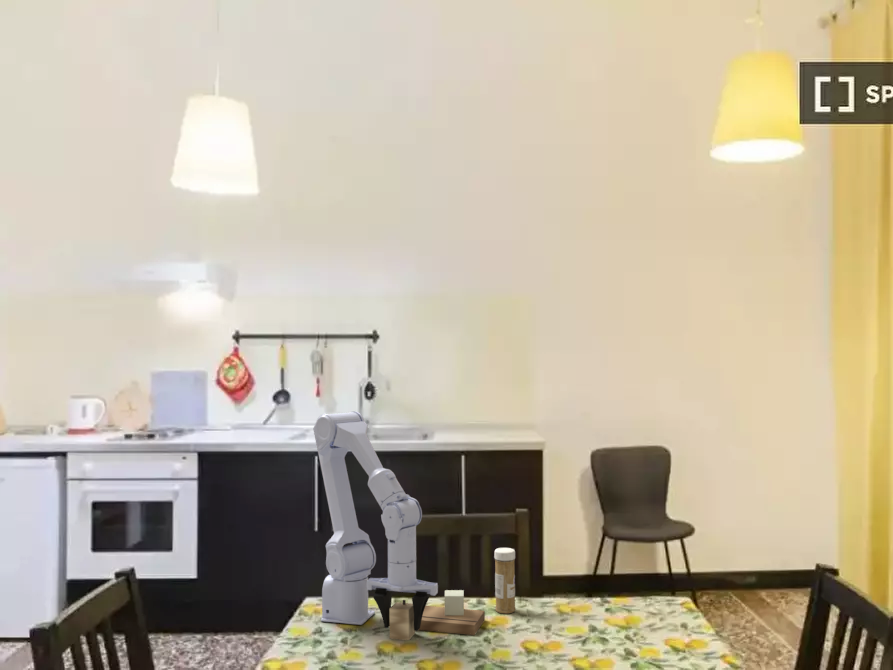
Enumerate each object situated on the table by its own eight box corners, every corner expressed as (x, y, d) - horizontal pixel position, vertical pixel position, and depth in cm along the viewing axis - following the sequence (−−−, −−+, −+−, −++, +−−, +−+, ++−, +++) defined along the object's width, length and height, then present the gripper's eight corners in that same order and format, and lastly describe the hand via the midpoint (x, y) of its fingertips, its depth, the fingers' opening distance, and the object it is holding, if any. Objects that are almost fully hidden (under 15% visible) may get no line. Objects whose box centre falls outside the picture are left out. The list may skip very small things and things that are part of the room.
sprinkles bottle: (517, 613, 173) (517, 551, 173) (497, 614, 172) (496, 552, 172) (513, 606, 177) (512, 546, 177) (493, 608, 177) (492, 547, 177)
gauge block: (389, 638, 159) (389, 604, 159) (396, 631, 163) (396, 598, 163) (408, 640, 158) (408, 606, 158) (414, 633, 161) (414, 599, 162)
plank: (399, 627, 164) (399, 617, 165) (413, 613, 173) (413, 604, 173) (474, 635, 160) (474, 624, 160) (484, 620, 169) (484, 610, 169)
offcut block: (444, 615, 166) (444, 596, 166) (445, 609, 170) (444, 590, 170) (463, 615, 166) (463, 596, 166) (463, 608, 170) (463, 590, 170)
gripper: (361, 562, 158) (361, 631, 158) (430, 567, 154) (430, 638, 154) (373, 553, 165) (374, 619, 165) (440, 558, 161) (441, 625, 161)
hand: (402, 627), depth 160 cm, fingers open, 6 cm apart
